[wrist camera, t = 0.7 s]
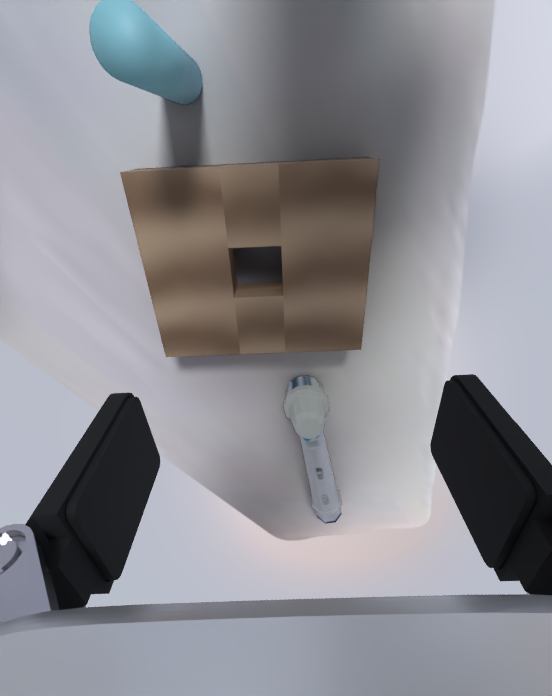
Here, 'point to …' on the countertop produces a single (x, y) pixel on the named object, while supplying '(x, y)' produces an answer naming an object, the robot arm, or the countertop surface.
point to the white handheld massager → (314, 443)
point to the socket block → (256, 253)
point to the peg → (142, 52)
